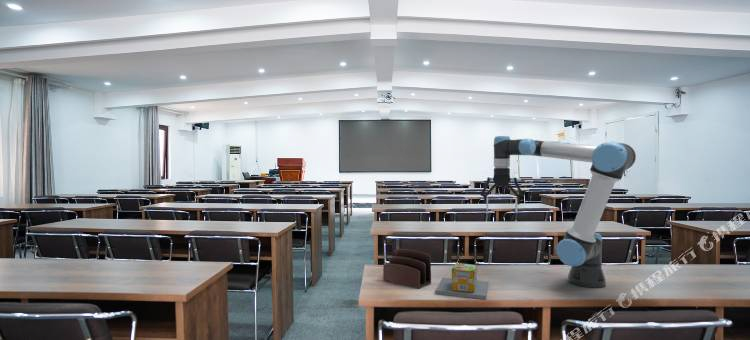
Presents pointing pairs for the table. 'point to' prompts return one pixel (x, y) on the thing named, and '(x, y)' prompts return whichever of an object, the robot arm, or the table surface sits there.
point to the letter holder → (408, 268)
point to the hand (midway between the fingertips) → (501, 210)
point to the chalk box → (464, 277)
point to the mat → (446, 289)
